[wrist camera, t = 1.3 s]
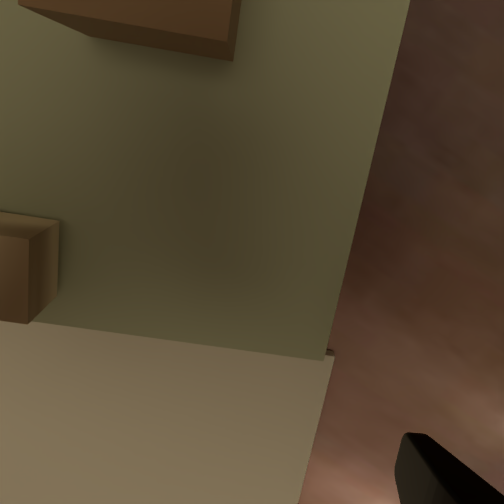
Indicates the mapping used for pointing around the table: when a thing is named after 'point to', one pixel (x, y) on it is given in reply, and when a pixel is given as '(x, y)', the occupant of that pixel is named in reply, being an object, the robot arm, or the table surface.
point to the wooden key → (27, 266)
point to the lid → (196, 158)
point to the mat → (151, 419)
